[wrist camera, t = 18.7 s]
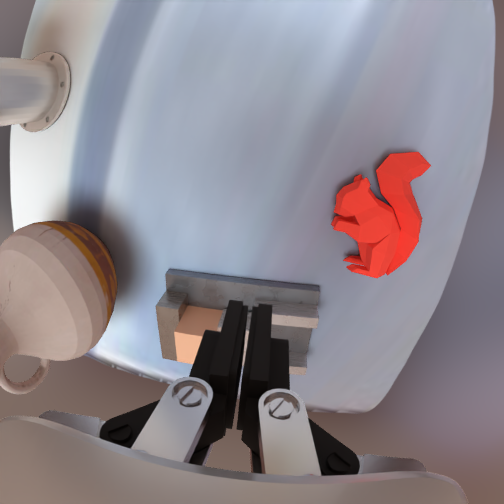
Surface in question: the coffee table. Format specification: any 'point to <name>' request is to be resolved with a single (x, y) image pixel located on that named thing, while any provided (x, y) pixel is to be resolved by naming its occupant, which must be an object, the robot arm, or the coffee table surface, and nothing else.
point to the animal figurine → (382, 215)
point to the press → (251, 293)
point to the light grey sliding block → (246, 329)
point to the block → (194, 331)
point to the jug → (53, 295)
